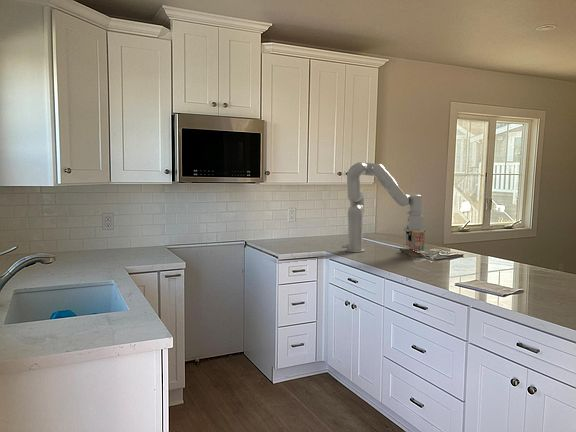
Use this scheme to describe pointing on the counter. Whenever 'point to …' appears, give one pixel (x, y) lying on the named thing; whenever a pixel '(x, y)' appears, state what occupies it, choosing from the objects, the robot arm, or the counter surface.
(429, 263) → the counter surface
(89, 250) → the counter surface
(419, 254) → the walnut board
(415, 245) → the cardboard product box
